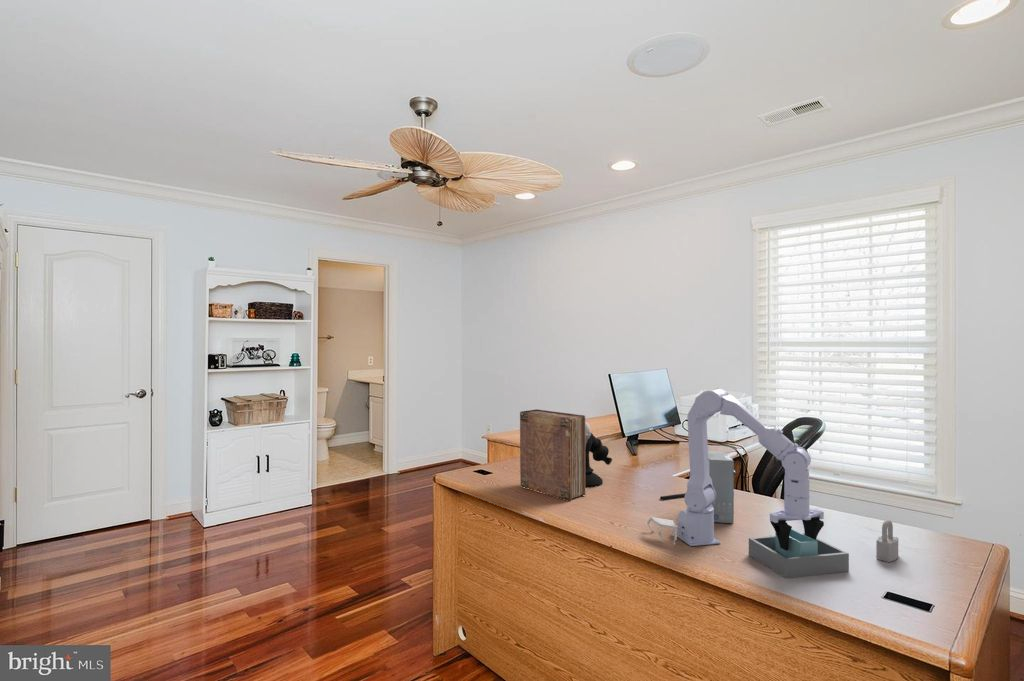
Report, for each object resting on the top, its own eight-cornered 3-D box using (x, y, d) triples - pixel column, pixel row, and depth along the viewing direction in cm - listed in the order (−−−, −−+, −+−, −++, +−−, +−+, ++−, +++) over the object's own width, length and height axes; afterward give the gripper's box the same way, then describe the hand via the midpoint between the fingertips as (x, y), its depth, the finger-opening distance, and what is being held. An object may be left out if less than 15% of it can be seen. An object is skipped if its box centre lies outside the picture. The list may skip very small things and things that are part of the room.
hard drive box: (734, 524, 163) (734, 461, 163) (708, 522, 164) (708, 460, 164) (724, 508, 178) (724, 450, 178) (701, 507, 179) (700, 449, 179)
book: (586, 496, 192) (585, 415, 192) (570, 501, 186) (570, 418, 186) (536, 482, 211) (535, 409, 211) (520, 487, 204) (519, 411, 204)
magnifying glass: (650, 496, 194) (650, 490, 194) (716, 487, 205) (716, 482, 205) (673, 507, 182) (673, 501, 182) (741, 497, 193) (741, 492, 192)
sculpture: (557, 481, 212) (557, 420, 212) (595, 472, 227) (595, 415, 227) (585, 489, 201) (585, 425, 201) (623, 479, 216) (623, 419, 216)
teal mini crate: (800, 566, 130) (800, 542, 130) (775, 552, 139) (775, 529, 139) (817, 564, 131) (817, 541, 131) (791, 550, 140) (791, 528, 140)
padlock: (883, 551, 142) (883, 515, 142) (901, 556, 138) (901, 519, 138) (873, 558, 137) (873, 520, 137) (891, 563, 134) (891, 525, 134)
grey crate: (785, 578, 126) (785, 559, 126) (748, 554, 140) (748, 538, 140) (848, 571, 130) (848, 553, 130) (806, 549, 143) (806, 532, 143)
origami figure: (689, 538, 151) (689, 522, 151) (675, 547, 145) (675, 529, 145) (652, 528, 160) (652, 512, 160) (637, 535, 154) (637, 519, 154)
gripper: (783, 501, 129) (783, 556, 129) (833, 498, 132) (833, 551, 132) (764, 493, 136) (764, 545, 136) (811, 490, 139) (812, 540, 139)
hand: (796, 547), depth 135 cm, fingers open, 7 cm apart
